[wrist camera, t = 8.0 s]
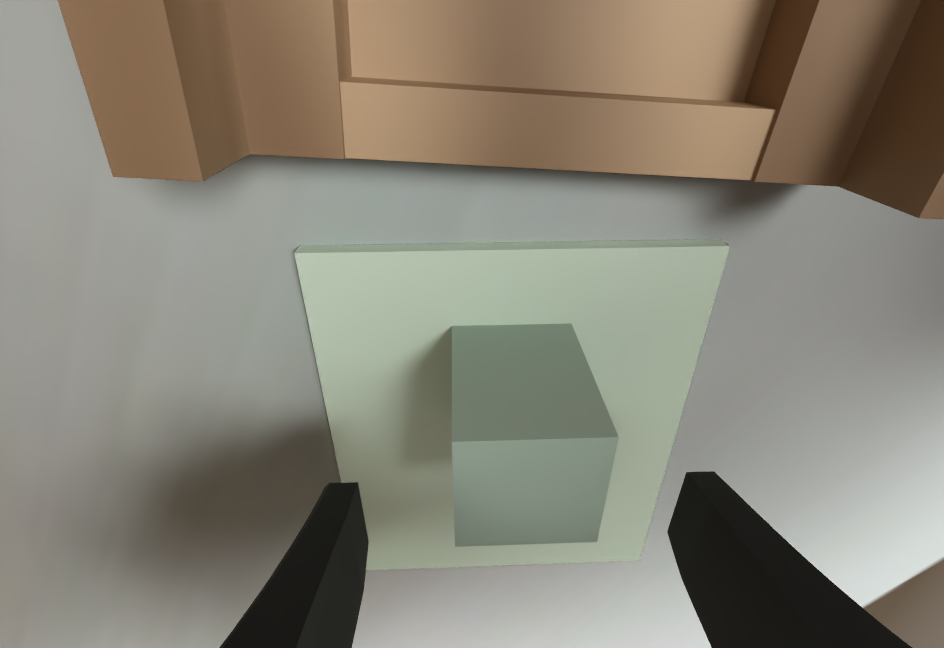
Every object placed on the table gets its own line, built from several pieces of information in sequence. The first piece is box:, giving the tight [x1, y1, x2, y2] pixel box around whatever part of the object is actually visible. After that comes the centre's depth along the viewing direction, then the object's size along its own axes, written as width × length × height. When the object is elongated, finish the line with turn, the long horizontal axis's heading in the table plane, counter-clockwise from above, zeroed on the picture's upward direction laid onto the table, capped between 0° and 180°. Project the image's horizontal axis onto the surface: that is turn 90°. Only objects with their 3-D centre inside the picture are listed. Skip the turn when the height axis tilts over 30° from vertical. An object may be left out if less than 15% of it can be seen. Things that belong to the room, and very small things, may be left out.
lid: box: [294, 239, 730, 571], centre depth 13 cm, size 10×12×5 cm
